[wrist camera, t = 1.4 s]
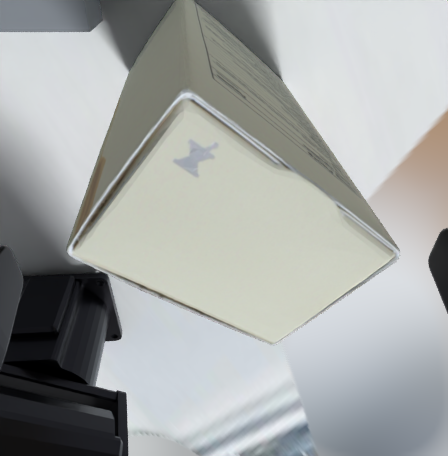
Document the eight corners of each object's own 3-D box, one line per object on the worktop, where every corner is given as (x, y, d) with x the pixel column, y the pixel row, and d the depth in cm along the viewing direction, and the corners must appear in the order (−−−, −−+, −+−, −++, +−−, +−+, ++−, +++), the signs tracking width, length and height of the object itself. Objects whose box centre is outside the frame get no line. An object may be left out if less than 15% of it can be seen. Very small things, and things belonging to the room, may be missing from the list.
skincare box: (126, 74, 17) (40, 251, 7) (182, -14, 15) (167, 67, 5) (233, 153, 20) (274, 357, 10) (292, 87, 18) (412, 260, 8)
